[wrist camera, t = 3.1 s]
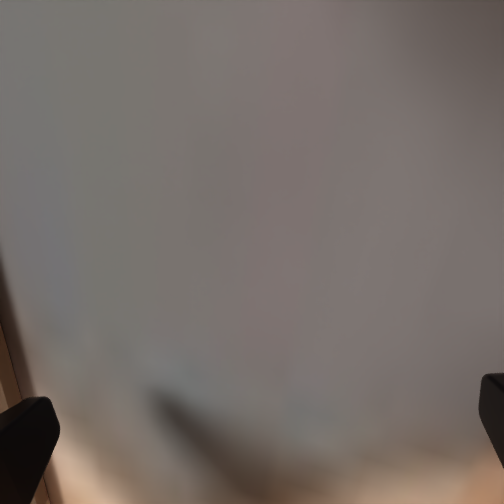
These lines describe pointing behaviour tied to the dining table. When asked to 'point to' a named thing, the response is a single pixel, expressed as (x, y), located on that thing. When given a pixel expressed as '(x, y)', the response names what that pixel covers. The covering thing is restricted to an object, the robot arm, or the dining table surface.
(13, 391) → the walnut box
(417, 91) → the dining table surface
